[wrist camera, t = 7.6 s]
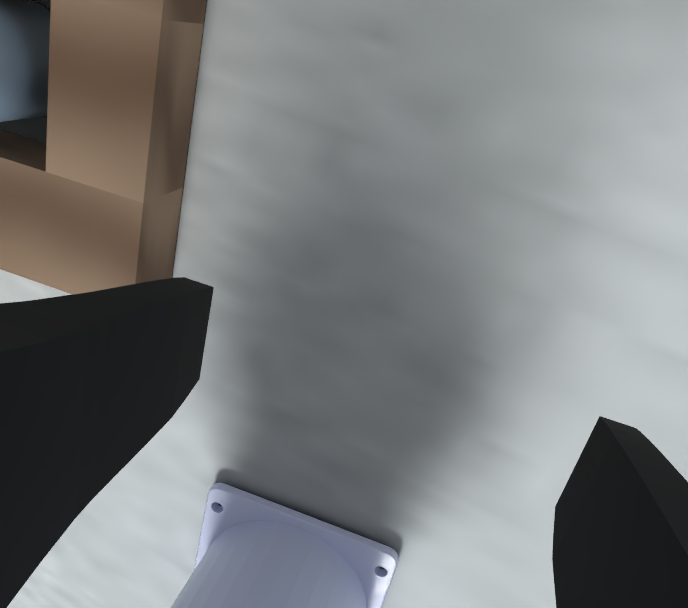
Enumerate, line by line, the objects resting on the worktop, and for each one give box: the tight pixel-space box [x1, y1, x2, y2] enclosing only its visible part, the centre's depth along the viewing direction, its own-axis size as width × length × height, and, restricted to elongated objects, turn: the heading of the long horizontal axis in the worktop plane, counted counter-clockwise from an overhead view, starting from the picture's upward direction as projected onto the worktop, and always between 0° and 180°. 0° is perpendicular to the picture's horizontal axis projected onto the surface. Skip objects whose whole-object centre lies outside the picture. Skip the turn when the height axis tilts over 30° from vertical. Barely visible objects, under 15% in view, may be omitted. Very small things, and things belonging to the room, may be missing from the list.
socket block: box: [0, 0, 207, 294], centre depth 20 cm, size 13×12×2 cm
